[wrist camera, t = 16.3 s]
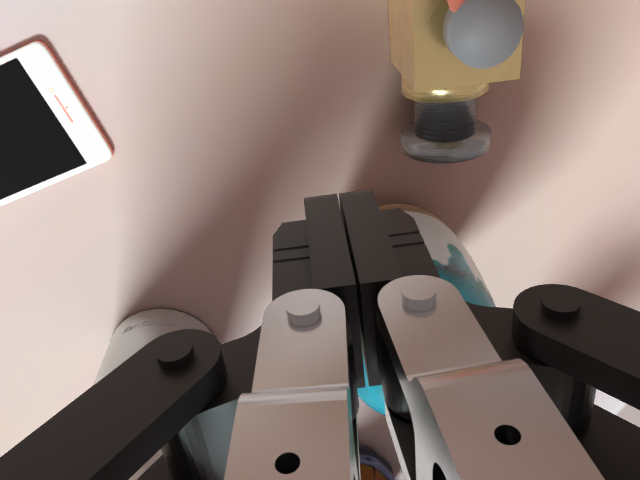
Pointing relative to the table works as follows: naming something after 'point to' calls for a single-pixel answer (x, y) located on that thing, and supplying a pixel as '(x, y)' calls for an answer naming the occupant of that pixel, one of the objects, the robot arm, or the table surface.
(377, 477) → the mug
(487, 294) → the vase
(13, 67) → the cell phone
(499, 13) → the lever
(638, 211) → the table surface
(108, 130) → the table surface
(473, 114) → the valve pipe
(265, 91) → the table surface
